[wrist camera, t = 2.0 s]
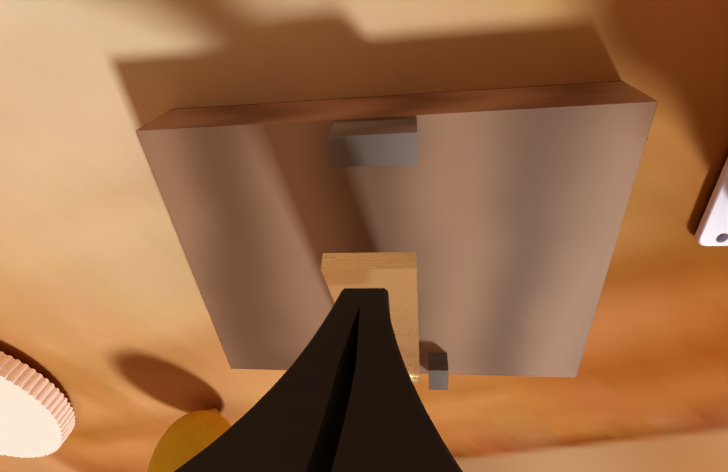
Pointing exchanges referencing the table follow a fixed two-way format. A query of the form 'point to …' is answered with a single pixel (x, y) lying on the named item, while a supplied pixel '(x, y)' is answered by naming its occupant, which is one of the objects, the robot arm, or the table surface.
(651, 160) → the table surface
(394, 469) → the robot arm
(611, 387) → the table surface
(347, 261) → the latch bar
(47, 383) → the plastic lid
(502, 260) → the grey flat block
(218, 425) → the lemon
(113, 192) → the table surface
